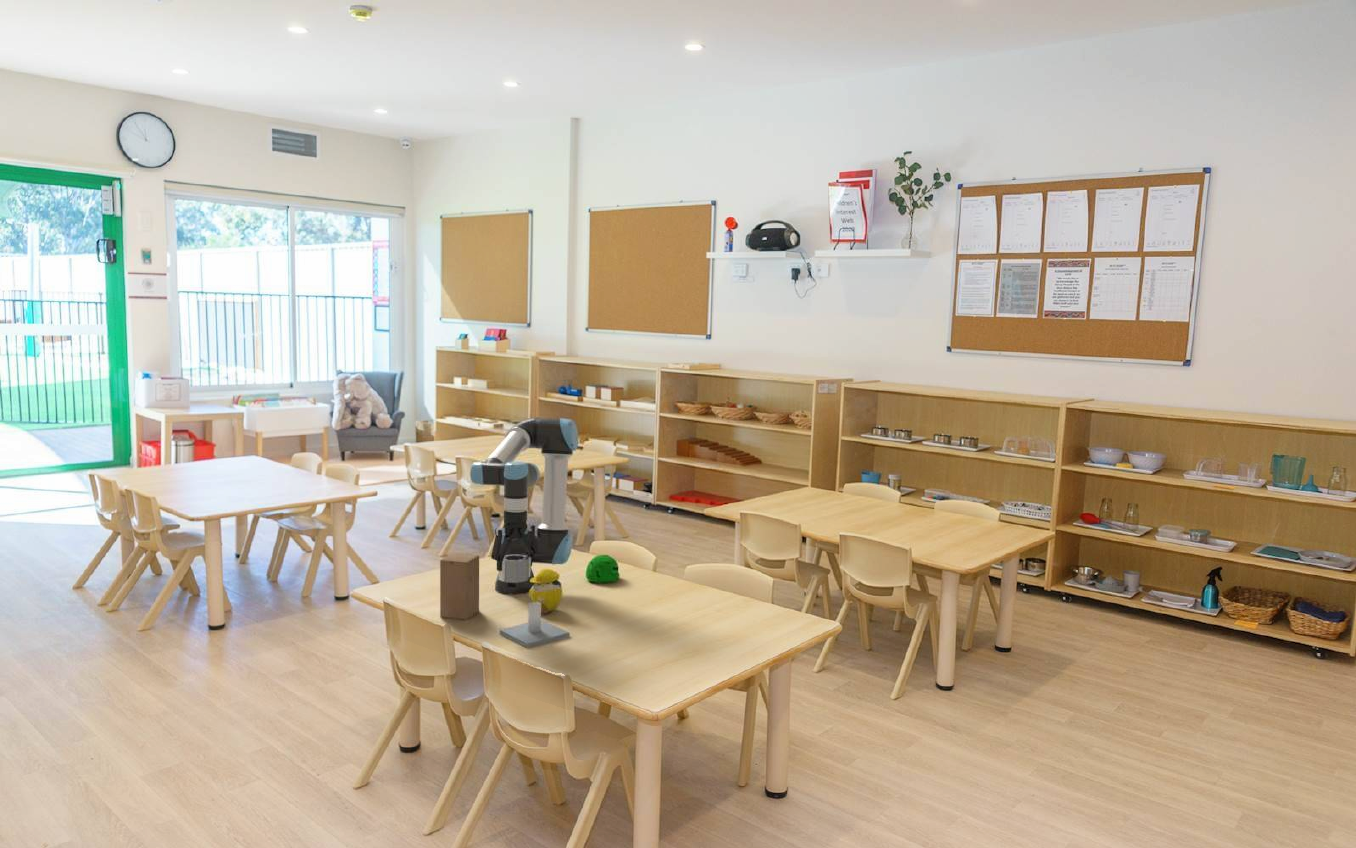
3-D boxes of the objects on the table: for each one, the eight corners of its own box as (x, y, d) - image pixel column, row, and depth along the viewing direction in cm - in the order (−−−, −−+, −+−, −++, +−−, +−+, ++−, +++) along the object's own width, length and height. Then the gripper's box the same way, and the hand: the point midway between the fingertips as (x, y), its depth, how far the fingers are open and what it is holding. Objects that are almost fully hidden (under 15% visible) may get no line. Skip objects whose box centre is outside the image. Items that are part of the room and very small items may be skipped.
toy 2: (618, 585, 350) (618, 560, 349) (583, 584, 350) (584, 559, 349) (620, 575, 364) (621, 551, 362) (587, 574, 364) (588, 550, 362)
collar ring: (518, 573, 303) (519, 553, 302) (533, 579, 296) (533, 558, 296) (495, 577, 297) (495, 556, 296) (509, 584, 291) (509, 562, 290)
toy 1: (522, 609, 319) (522, 567, 317) (545, 603, 326) (546, 562, 324) (545, 618, 310) (546, 575, 308) (569, 612, 317) (569, 570, 316)
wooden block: (467, 620, 306) (467, 562, 303) (439, 617, 308) (439, 559, 305) (479, 611, 316) (479, 554, 313) (452, 608, 318) (452, 552, 315)
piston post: (540, 623, 305) (541, 593, 303) (569, 637, 293) (569, 605, 292) (499, 634, 294) (499, 602, 292) (527, 648, 282) (528, 615, 281)
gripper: (537, 504, 304) (536, 570, 307) (480, 511, 290) (479, 580, 292) (550, 508, 299) (548, 575, 301) (491, 515, 284) (491, 586, 287)
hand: (514, 578), depth 297 cm, fingers closed on collar ring, 9 cm apart
